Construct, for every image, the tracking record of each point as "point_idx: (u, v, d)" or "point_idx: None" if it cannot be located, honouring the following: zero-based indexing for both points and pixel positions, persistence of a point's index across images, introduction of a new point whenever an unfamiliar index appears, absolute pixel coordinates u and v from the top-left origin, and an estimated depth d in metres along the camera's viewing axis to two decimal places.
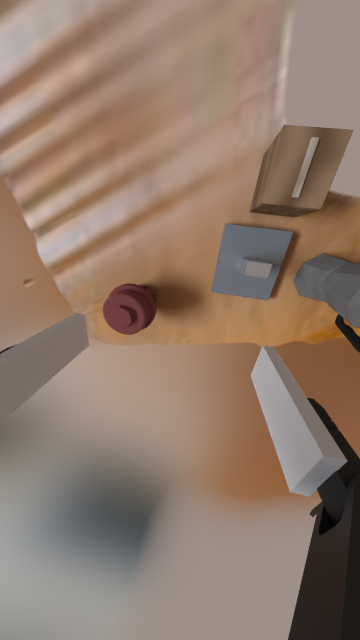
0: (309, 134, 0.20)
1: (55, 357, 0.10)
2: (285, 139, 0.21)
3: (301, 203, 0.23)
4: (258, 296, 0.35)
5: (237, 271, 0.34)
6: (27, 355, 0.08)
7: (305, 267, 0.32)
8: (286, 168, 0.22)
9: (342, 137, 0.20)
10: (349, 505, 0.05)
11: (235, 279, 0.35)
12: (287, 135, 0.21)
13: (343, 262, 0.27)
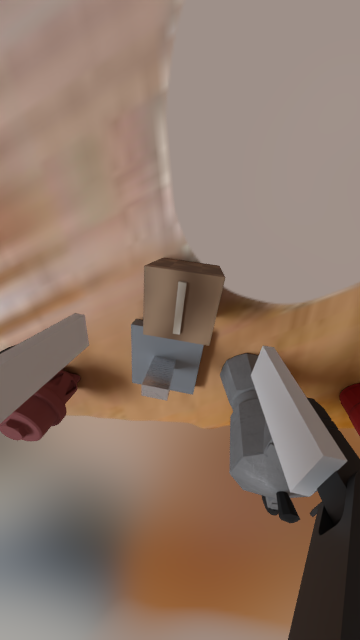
0: (175, 277, 0.17)
1: (55, 357, 0.10)
2: (150, 279, 0.17)
3: (186, 338, 0.20)
4: (181, 390, 0.32)
5: None
6: (27, 355, 0.08)
7: (226, 367, 0.29)
8: (159, 306, 0.18)
9: (214, 283, 0.16)
10: (349, 505, 0.05)
11: None
12: (151, 276, 0.17)
13: (253, 383, 0.24)
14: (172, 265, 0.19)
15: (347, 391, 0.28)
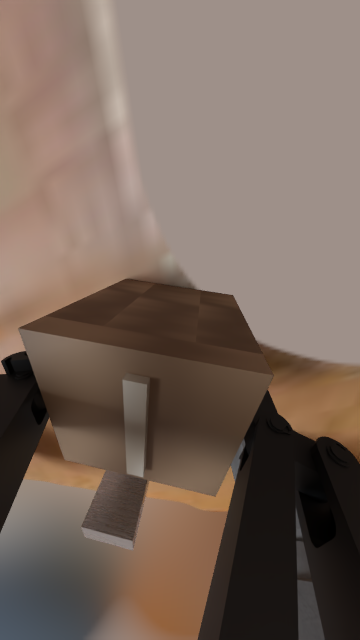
0: (116, 363, 0.05)
1: None
2: (45, 362, 0.06)
3: (160, 479, 0.08)
4: None
5: None
6: None
7: None
8: (86, 419, 0.07)
9: (236, 387, 0.05)
10: (254, 440, 0.06)
11: None
12: (45, 355, 0.06)
13: None
14: (124, 310, 0.08)
15: None
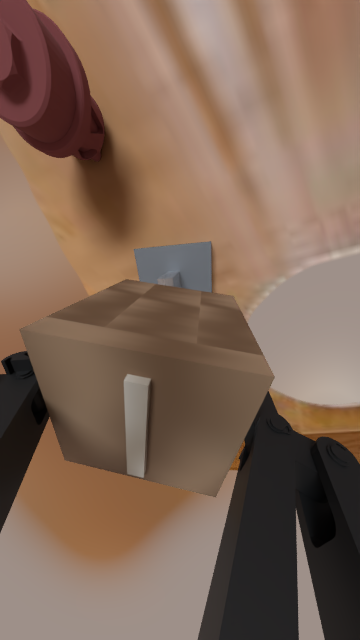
0: (117, 364, 0.05)
1: None
2: (46, 363, 0.06)
3: (160, 479, 0.08)
4: None
5: (164, 272, 0.29)
6: None
7: None
8: (87, 420, 0.07)
9: (237, 388, 0.05)
10: (254, 440, 0.06)
11: (156, 273, 0.30)
12: (46, 355, 0.06)
13: None
14: (125, 311, 0.08)
15: None
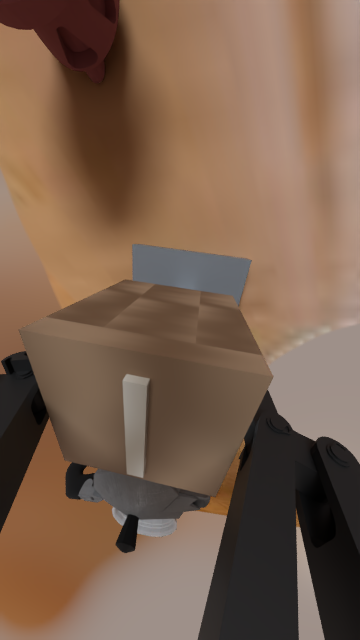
0: (116, 364, 0.05)
1: None
2: (45, 363, 0.06)
3: (160, 479, 0.08)
4: None
5: None
6: None
7: None
8: (86, 420, 0.07)
9: (235, 388, 0.05)
10: (254, 440, 0.06)
11: None
12: (46, 356, 0.06)
13: None
14: (124, 311, 0.08)
15: None
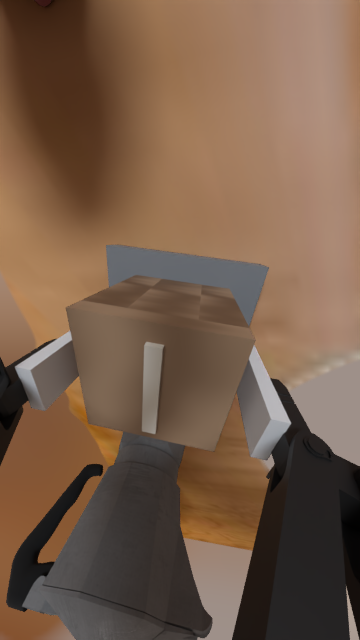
0: (139, 333, 0.07)
1: None
2: (83, 335, 0.08)
3: (168, 437, 0.10)
4: None
5: None
6: (66, 349, 0.09)
7: None
8: (111, 383, 0.09)
9: (228, 350, 0.07)
10: (289, 461, 0.05)
11: None
12: (84, 328, 0.07)
13: (181, 455, 0.18)
14: (140, 297, 0.09)
15: None
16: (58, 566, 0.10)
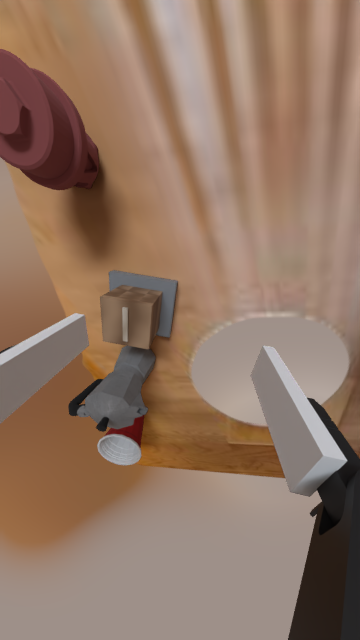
0: (121, 304, 0.25)
1: (55, 357, 0.10)
2: (104, 305, 0.26)
3: (132, 344, 0.28)
4: None
5: None
6: (27, 355, 0.08)
7: (143, 349, 0.39)
8: (112, 322, 0.27)
9: (145, 309, 0.25)
10: (349, 505, 0.05)
11: None
12: (104, 303, 0.25)
13: (145, 373, 0.36)
14: (122, 294, 0.27)
15: None
16: (91, 393, 0.28)
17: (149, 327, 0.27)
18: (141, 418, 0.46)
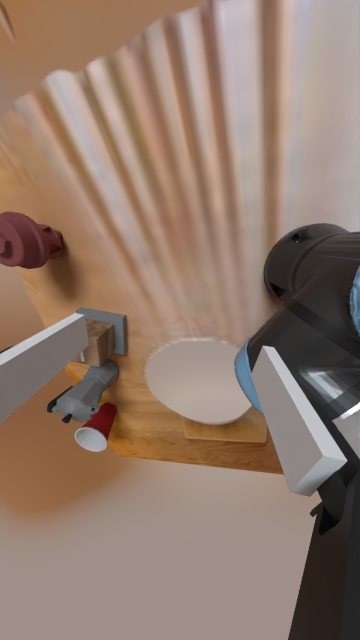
0: None
1: (55, 357, 0.10)
2: None
3: (88, 363, 0.41)
4: None
5: None
6: (27, 355, 0.08)
7: (107, 363, 0.52)
8: None
9: (93, 341, 0.38)
10: (349, 505, 0.05)
11: None
12: None
13: (106, 382, 0.49)
14: None
15: (110, 405, 0.61)
16: (61, 397, 0.41)
17: (97, 352, 0.39)
18: (111, 416, 0.59)
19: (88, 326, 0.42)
